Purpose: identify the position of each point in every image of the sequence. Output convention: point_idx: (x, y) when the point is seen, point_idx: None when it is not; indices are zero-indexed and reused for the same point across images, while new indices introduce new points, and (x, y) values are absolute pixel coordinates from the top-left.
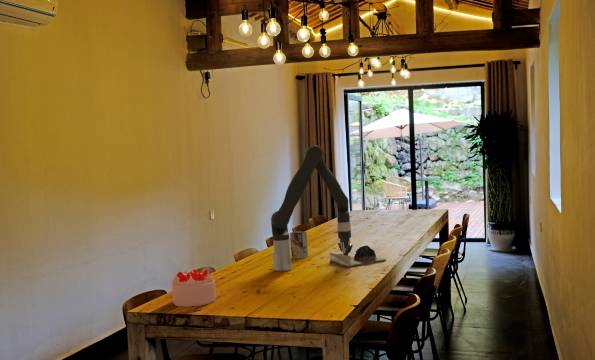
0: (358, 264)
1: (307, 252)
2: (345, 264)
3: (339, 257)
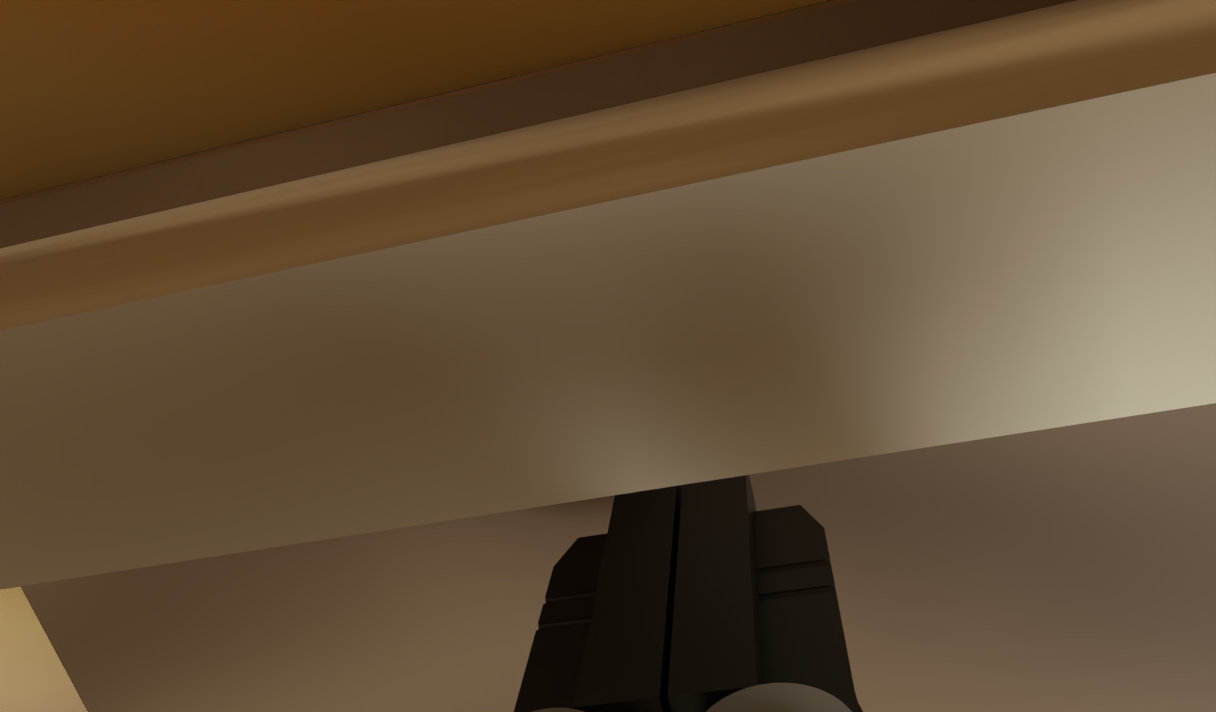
0: (92, 674)
1: None
2: (35, 241)
3: (434, 195)
